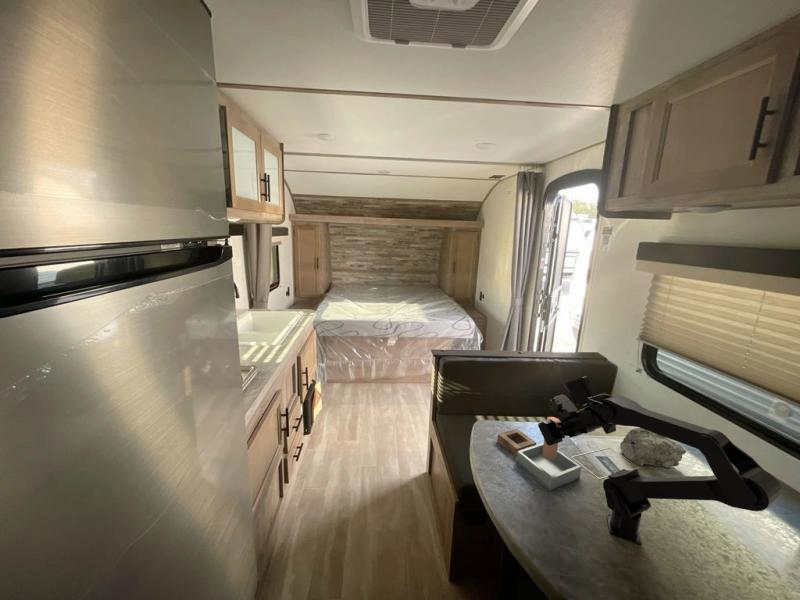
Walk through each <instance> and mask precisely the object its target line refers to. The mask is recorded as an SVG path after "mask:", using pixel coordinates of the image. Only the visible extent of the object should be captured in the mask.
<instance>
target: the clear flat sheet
mask: <svg viewBox="0 0 800 600" xmlns="http://www.w3.org/2000/svg"><path fill="white" fill-rule="evenodd" d="M607 449H608V450H609V449H610V450H611V451H613V452H614V453H616V454H617V455H619V456H620V457H622V458H624V459H625V460H627V461H628V462H629V463H631V464H632V465H634V466H635V468H631V469H629V470H633V469H637V470H638V469H640V468H641V466H640V465H638V464H635V463H634V462H632V461H631V460H629V459H628V458H627V457H625V456H624V455H622V454H620V453H619V452H618V451H616V450H615V449H613V448H611V447H605V448H601V449H598V450H594V451H593V450H592V451H588V452H586V453H585V452H584V453H581V454H576V455H572V456H570V459H571V460H573V461H574V462H576V463H577V464H579V465H580V466H581V467H583V468H584V469H585V470H586V471H588V472H589V473H590V474H592V475H593V476H594V475H595V476H594V477H595V478H597V479H598V480H602V479H607V478H609V477H608V476H609V475H606V476H602V477H599V476H597V475H596V474H595V473H594V472H592V471H591V470H590V469H589V468H587V467H585V466H584V464H582V463H580V462H579V461H578V460H577V459H575V458H576V457H579V456H583V455H588V454H591V453H596V452H600V451H604V450H607ZM595 451H596V452H595ZM587 453H588V454H587Z"/></svg>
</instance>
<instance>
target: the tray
mask: <svg viewBox="0 0 800 600" xmlns="http://www.w3.org/2000/svg"><path fill="white" fill-rule="evenodd" d="M543 444H544V442H542V443H538V444H536V445H535V446H532V447H529V448H526V449H523V450H520V451H517V457H516V460H515V461H516V463H517V465H519V466H520V467H521V468H522V469H524V470H525V471H526V472H527V473H528V474H529V475H530V476H532V477H533V478H534V479H535V480H536V481H537V482H539V483H540V484H541V485H542V486H544V487H545V488H546V489H547V490H548V491H552V490H555V489H557V487H558V488H560V487H562V486H564V484H565V485H567V484H569V483H572V482H574V481H576V480H579V479H580V478H581V472H582V466H581V465H580V464H579V463H578V462H576V461H575V460H574V459H572V458H571V457H569V456H567V455H566V454H564V453H563V452H561V450H558V449H557V456H556V459H555V460H550V459H547V458H545V457H544V456H543V455H542V452H543ZM571 481H572V482H571ZM566 483H567V484H566Z"/></svg>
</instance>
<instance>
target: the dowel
mask: <svg viewBox="0 0 800 600" xmlns="http://www.w3.org/2000/svg"><path fill="white" fill-rule="evenodd" d="M550 419H551V420H553V421H554V422H555V423H556V425H557V423H558V422H561V421H559V419H558V417H554V416H547V418H546V421H547V420H550ZM557 426H558V425H557ZM559 427H561V426H559ZM543 443H544V444H543V452H542V455H543V456H544V457H545V458H547V459H550V460H555V459H556V456H557V450H558V448H559V443H556V444H553V445H550V446H549V445H547V444H546V441H545V439H544V438H543Z"/></svg>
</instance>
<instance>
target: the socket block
mask: <svg viewBox="0 0 800 600" xmlns="http://www.w3.org/2000/svg"><path fill="white" fill-rule="evenodd" d="M515 441H517V442H519V443H516V442H515ZM497 443H498V444H500V445H501V446H502V447H504V448H505V449H506V450H507V451H508V452H509V453H511V455H513V456H515V458H517V451H520V450H523V449H526V448H529V447H532V446H535V445H537V442H536V441H535V440H534V439H532V437H529V436H528V435H527V434H526V433H524V432H522V431H521V430H520V429H518V428H513V429H510V430H506V431H504V432H503V431H502V432H499V433H498V434H497Z"/></svg>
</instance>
